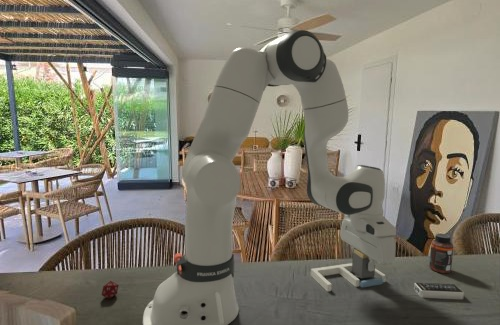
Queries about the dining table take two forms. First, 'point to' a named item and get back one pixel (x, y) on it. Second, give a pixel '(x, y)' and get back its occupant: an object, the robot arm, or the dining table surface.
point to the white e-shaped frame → (345, 272)
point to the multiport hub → (438, 291)
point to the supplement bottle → (441, 254)
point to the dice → (110, 290)
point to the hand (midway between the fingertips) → (363, 265)
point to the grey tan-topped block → (361, 265)
